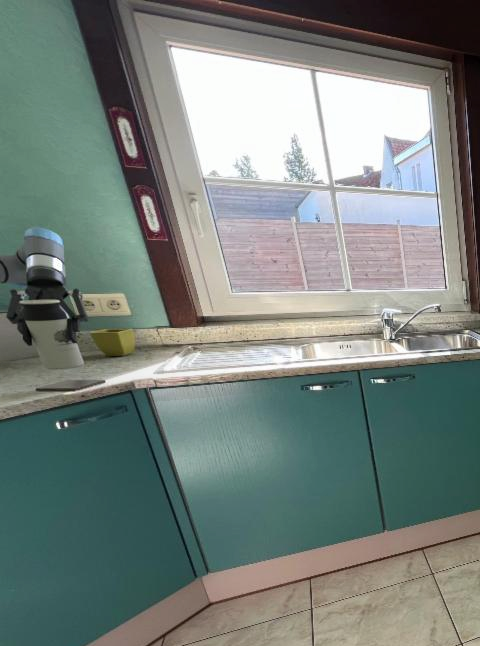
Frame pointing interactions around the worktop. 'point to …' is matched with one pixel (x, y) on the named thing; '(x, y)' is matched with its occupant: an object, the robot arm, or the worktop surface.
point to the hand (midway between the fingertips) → (50, 341)
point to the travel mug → (51, 334)
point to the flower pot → (115, 341)
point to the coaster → (70, 385)
